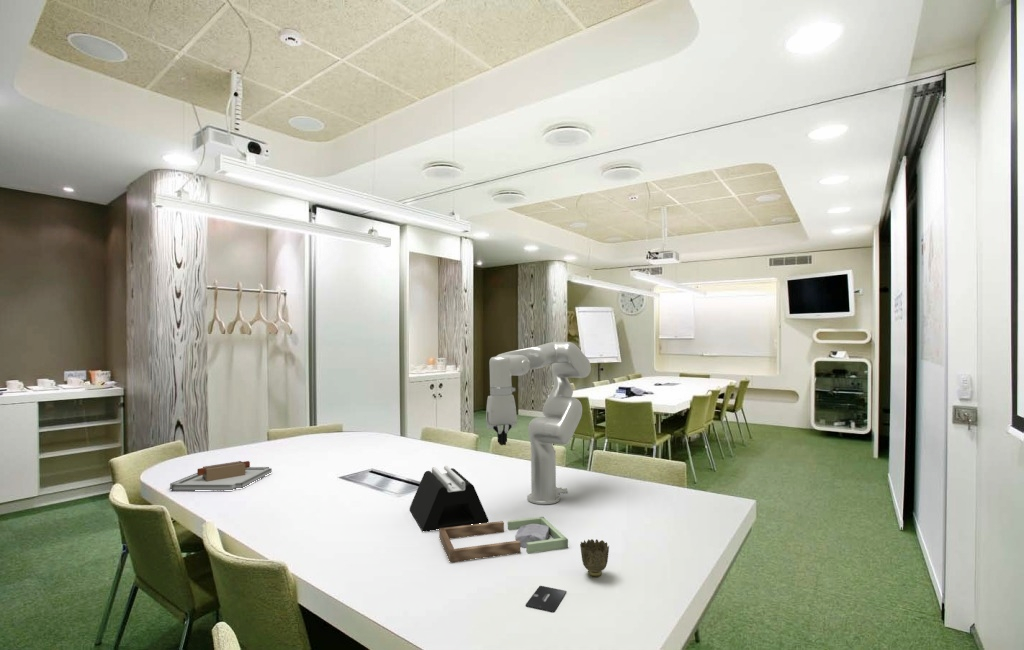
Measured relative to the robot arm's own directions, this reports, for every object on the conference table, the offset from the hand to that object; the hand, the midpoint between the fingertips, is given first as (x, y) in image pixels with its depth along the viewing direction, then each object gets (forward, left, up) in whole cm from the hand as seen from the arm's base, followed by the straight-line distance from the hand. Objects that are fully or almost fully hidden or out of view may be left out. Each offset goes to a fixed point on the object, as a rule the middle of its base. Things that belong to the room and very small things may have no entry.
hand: (502, 444), depth 171 cm
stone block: (-3, +22, -26) cm, 34 cm away
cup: (-11, +48, -25) cm, 56 cm away
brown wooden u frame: (+13, +20, -25) cm, 35 cm away
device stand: (+18, -7, -26) cm, 32 cm away
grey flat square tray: (+104, -82, -26) cm, 135 cm away
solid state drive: (+6, +55, -26) cm, 61 cm away
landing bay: (-5, +20, -25) cm, 33 cm away
